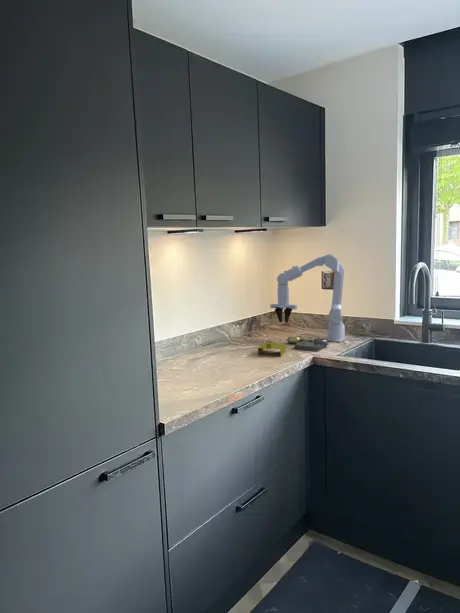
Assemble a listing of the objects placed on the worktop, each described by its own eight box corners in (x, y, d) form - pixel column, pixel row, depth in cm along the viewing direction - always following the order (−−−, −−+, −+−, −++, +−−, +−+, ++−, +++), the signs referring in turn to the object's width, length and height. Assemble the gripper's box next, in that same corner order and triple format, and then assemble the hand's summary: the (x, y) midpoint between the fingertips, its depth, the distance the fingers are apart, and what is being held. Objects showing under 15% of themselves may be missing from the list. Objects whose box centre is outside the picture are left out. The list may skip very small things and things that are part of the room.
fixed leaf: (294, 348, 218) (294, 341, 218) (304, 344, 228) (304, 337, 228) (320, 351, 211) (320, 344, 211) (329, 346, 221) (329, 339, 220)
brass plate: (285, 343, 230) (285, 337, 230) (295, 339, 240) (295, 333, 239) (309, 345, 223) (309, 339, 223) (319, 341, 233) (319, 335, 232)
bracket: (291, 334, 216) (285, 341, 202) (291, 350, 217) (286, 358, 203) (259, 333, 221) (251, 340, 207) (260, 349, 222) (252, 356, 208)
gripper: (267, 296, 237) (267, 322, 239) (292, 297, 229) (292, 324, 231) (273, 295, 243) (274, 320, 245) (298, 296, 235) (298, 322, 237)
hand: (283, 322), depth 238 cm, fingers open, 3 cm apart
